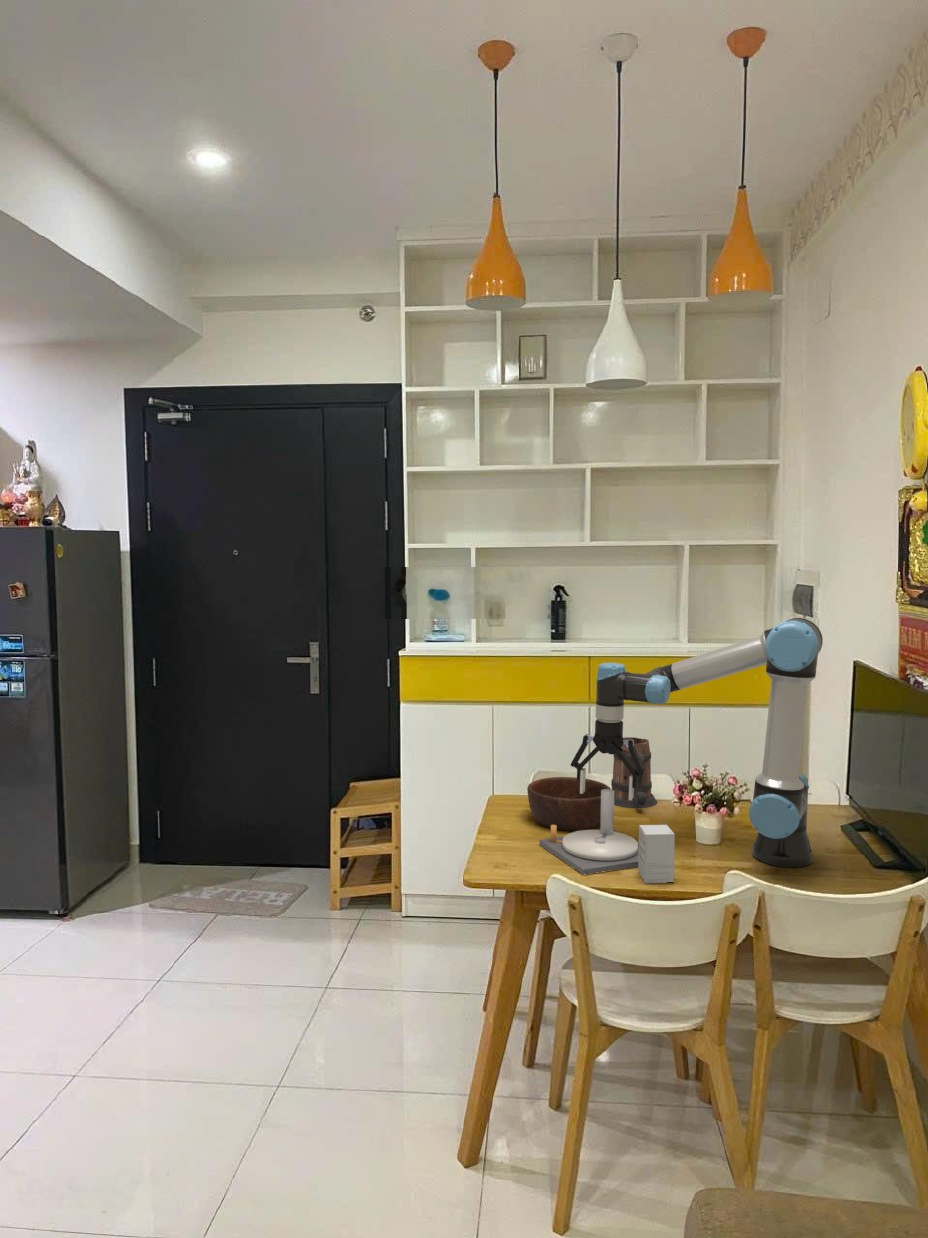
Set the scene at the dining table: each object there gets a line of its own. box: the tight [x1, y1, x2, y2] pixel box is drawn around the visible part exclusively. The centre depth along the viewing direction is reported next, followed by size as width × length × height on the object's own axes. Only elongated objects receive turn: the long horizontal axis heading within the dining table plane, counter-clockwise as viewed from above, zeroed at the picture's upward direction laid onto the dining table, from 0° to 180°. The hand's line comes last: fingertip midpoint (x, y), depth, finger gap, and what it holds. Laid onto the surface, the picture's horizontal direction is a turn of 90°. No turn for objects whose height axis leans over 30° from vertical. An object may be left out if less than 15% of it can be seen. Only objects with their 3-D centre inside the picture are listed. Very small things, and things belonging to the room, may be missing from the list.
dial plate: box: [539, 825, 639, 876], centre depth 237 cm, size 24×24×6 cm
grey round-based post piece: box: [563, 788, 639, 861], centre depth 237 cm, size 20×20×14 cm
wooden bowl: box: [527, 776, 611, 832], centre depth 265 cm, size 25×25×10 cm
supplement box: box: [637, 824, 676, 884], centre depth 220 cm, size 7×7×13 cm
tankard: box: [610, 736, 658, 809], centre depth 283 cm, size 24×17×20 cm
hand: (606, 795), depth 244 cm, fingers open, 13 cm apart
